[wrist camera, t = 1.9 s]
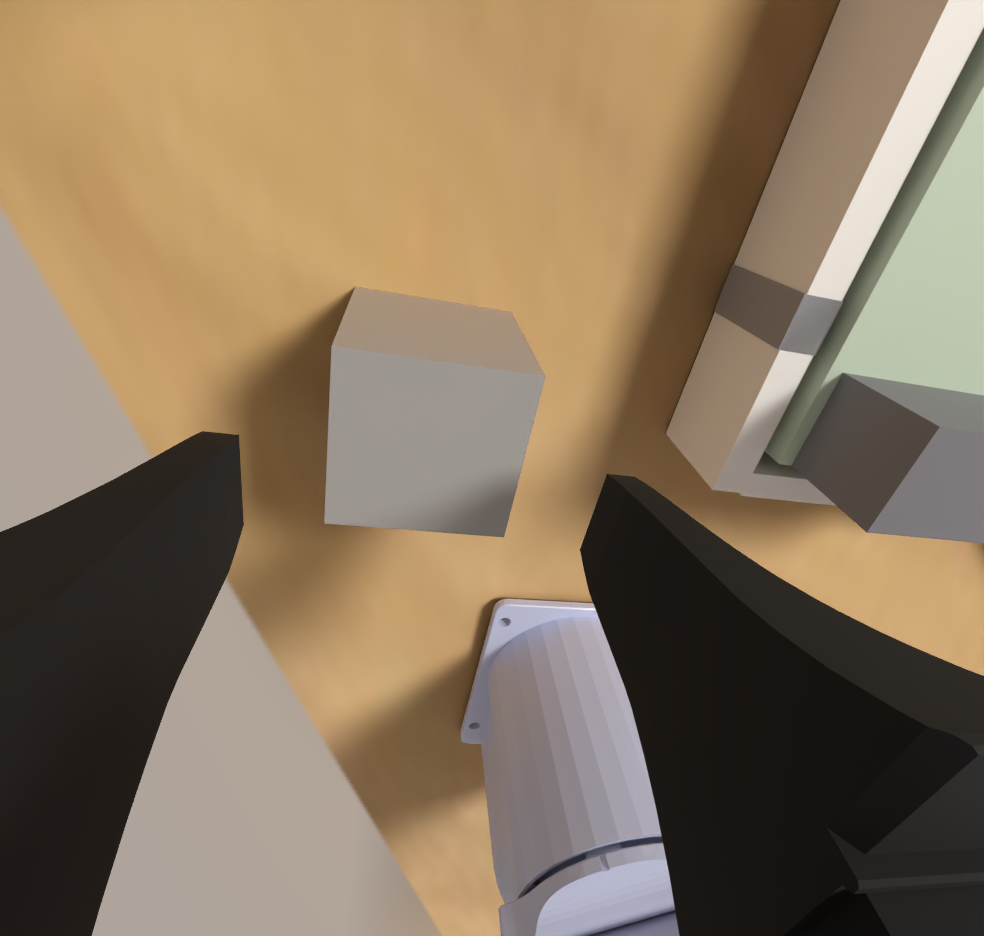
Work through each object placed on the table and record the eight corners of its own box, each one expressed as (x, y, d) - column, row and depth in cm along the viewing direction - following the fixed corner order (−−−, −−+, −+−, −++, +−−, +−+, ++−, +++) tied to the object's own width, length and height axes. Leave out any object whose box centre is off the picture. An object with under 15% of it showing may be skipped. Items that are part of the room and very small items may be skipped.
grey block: (483, 443, 18) (503, 537, 14) (346, 427, 17) (324, 523, 13) (511, 311, 16) (545, 376, 12) (355, 285, 15) (331, 346, 11)
